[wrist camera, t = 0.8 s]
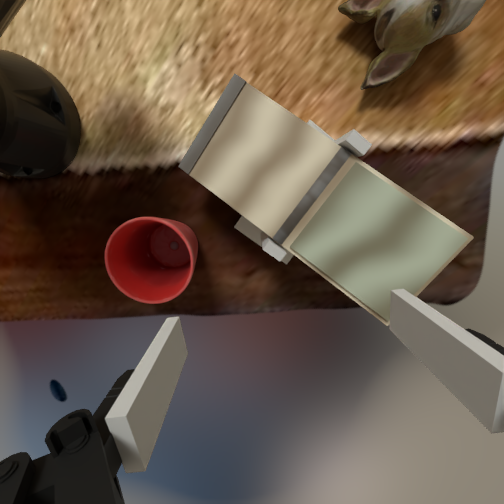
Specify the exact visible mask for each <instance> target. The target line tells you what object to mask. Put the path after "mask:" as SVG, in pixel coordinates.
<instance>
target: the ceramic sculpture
mask: <svg viewBox="0 0 504 504" xmlns="http://www.w3.org/2000/svg"><path fill="white" fill-rule="evenodd" d="M485 1H486V0H348V1H347V2H345V3H343V4H342V5H340V6H339V7H338V10H339V12H341V13H342V14H344V15H346V16H348V17H349V18H350V19H352V20H354V21H356V22H358V23H361V24H363V23H366V22H368V21H369V20H371V19H372V18H374V17H375V16H377V21H376V24H375V29H374V33H375V41H376V43H377V45H378V47H379V48H380V49H381V50H382V51H383V52H382V53H380V54H379V55H378V56H377V57H376V58H375V59H374V60H373V61H372V62H371V64H370V66H369V68H368V71H367V74H366V77H365V80H364V82H363V83H362V85H361V90H363V89H367V88H374V87H377V86H380V85H382V84H385V83H387V82H390V81H392V80H394V79H396V78H397V77H398V76H399V75H401V74H402V73H403V72H405V71H406V70H408V69H409V68H410V67H411V66H412V64H413V63H414V62H415V60H416V59H417V57H418V54H419V52H420V51H421V50H422V48H423V47H424V46H425V45H427V44H431V43H432V42H434V41H435V40H437V39H439V38H442V36H443V35H450V34H456V33H458V32H461V31H462V30H464V29H465V28H466V27H468V26H469V25H470V23H471V21H472V20H473V18H474V16H475V15H476V14H477V13H478V11H479V10H480V9H481V7H482V6H483V4H484V3H485Z"/></svg>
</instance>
